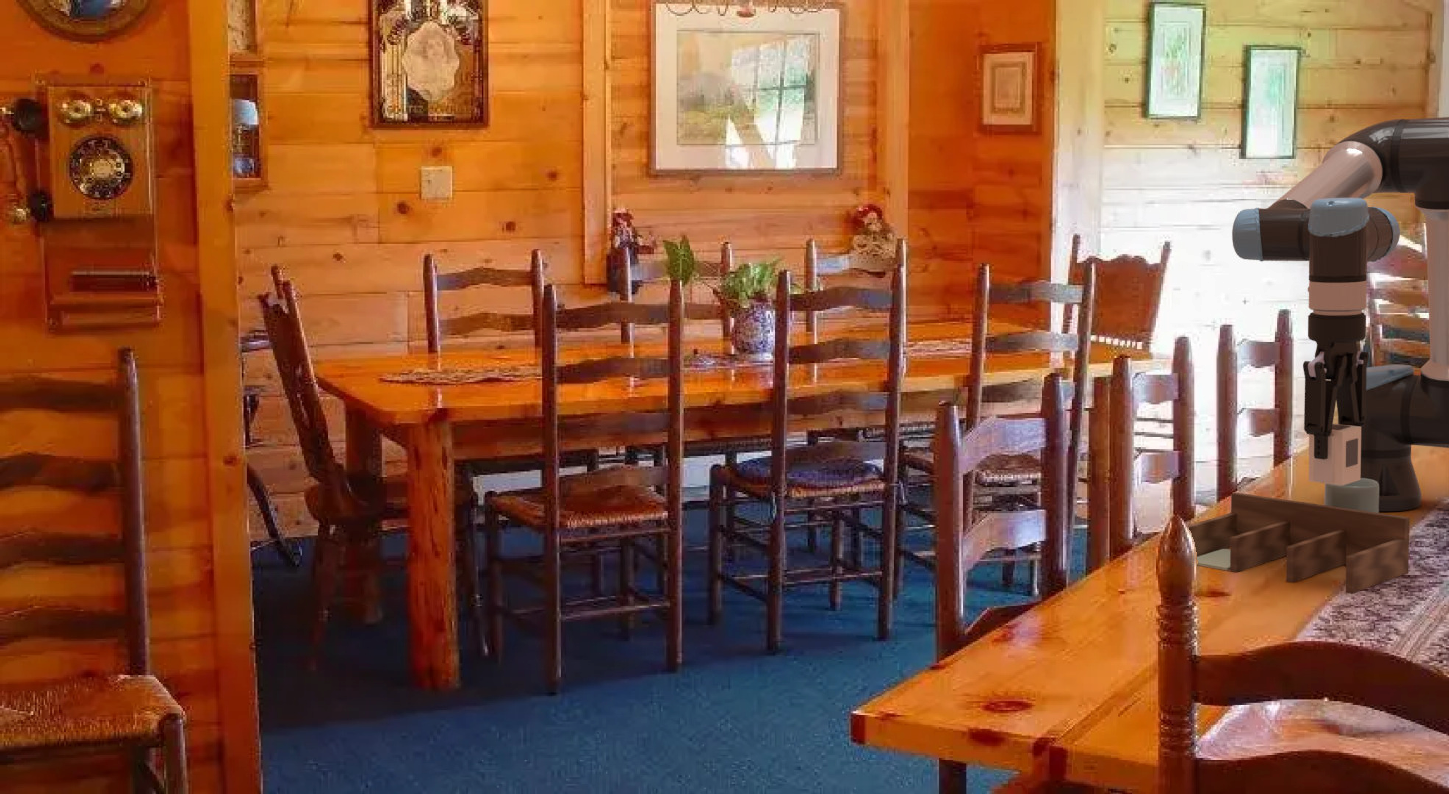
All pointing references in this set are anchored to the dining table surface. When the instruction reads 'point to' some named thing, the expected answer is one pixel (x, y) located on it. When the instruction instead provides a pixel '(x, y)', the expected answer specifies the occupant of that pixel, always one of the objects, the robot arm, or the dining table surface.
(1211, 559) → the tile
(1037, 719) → the dining table surface
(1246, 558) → the cubby
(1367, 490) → the cup
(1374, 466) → the robot arm
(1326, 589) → the dining table surface
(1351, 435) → the white upright rectangular block
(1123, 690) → the dining table surface
